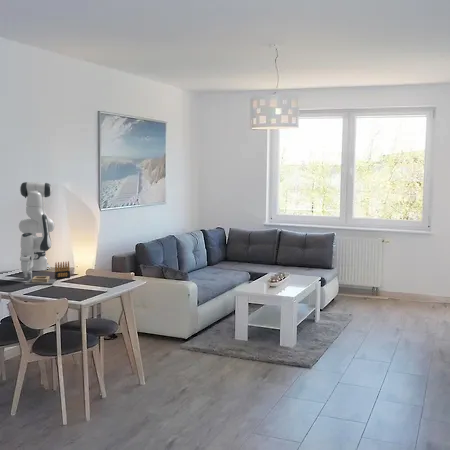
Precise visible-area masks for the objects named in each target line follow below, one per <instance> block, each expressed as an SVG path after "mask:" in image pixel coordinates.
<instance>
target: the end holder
mask: <svg viewBox="0 0 450 450" xmlns="http://www.w3.org/2000/svg"><path fill="white" fill-rule="evenodd" d="M50 277H51V276H50V275H41V276H40V275H35V276H32V279H29V280H26V282H25V283H24V286H52V285H53V284H54V283H56V281H57V279H55V278H50Z"/></svg>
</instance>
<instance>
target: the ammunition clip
mask: <svg viewBox="0 0 450 450" xmlns="http://www.w3.org/2000/svg"><path fill="white" fill-rule="evenodd" d="M54 264H55V265H54V279H56V280H58V279H59V280H60V279H70V278H71V268H70V267H71V266H70V261H69V260H68V261H65V262H64V261H63V262H62V261H61V262H59V261H58V263H57V262H55V263H54Z"/></svg>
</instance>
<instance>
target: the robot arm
mask: <svg viewBox="0 0 450 450" xmlns="http://www.w3.org/2000/svg"><path fill="white" fill-rule="evenodd" d="M19 191H20V192H19V193H20V195H21V196H23V197H24V198H25V199H26V206H25V210H26V211H25V213H26V215H27V216H28V218H26V219H22V220H20V221H19V223H18V229H19V231H20V232H21V233H22V234H21V236H20V249H21V250H20V258H19V261H20V266H21V267H20V268H21V272H22V273H23V272H24V275H25V277H28V274H27V272H28V271H32V272H34V271H36V272H38V271H40V272H42V271H47V269H48V270H50V269H51V265H50V264H49V262H48V258H47V257H46V255H47V254H46V253H47V251H48V250H50V249H51V248H52V240H51V235H50V232H54V229H55V226H56V224H55V222H54V219H51V218H50V217H49V215H48V214H47V213H46V206H45V201H46V200H45V198H49V197H50V196H51V195H52V192H53V188H52V186H51V183H48V182H40V181H39V182H38V181H35V182H33V181H31V182H28V181H24V182H22V183H21V184H20V186H19ZM37 234H42V235H41V236H38V235H37ZM47 267H49V268H50V269H49V268H47Z"/></svg>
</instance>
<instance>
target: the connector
mask: <svg viewBox="0 0 450 450" xmlns="http://www.w3.org/2000/svg"><path fill="white" fill-rule="evenodd" d="M27 274H28V277H25V275H24V272H22V275H23V276H22V277H23V281H28V280H29V279H32V278H33V271H28V272H27Z"/></svg>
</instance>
